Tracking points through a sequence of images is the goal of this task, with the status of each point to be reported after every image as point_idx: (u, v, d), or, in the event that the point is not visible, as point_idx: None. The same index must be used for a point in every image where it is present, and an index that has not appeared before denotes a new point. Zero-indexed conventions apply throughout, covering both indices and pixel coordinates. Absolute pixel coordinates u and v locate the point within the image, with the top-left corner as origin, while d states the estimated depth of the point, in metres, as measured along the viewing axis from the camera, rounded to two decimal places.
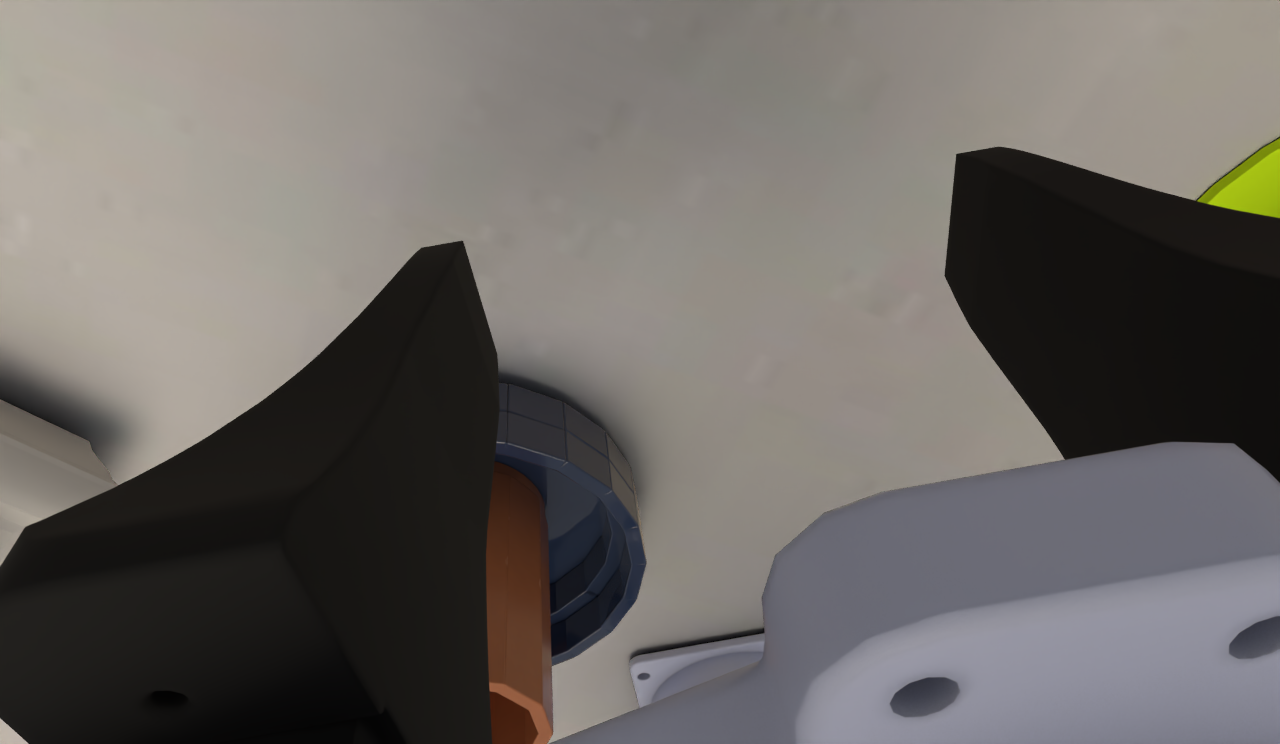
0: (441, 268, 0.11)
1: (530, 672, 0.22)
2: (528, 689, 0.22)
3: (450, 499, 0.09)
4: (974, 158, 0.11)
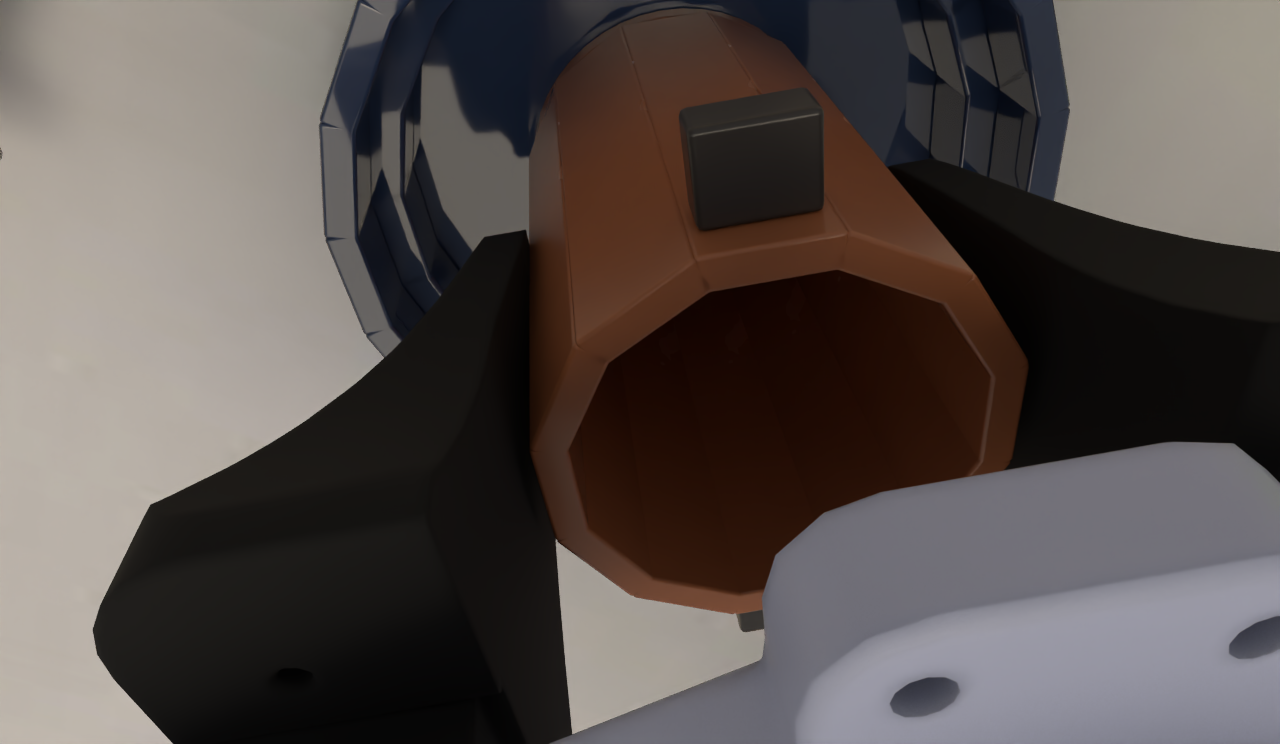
0: (511, 256, 0.11)
1: None
2: (999, 317, 0.08)
3: (529, 485, 0.09)
4: (902, 171, 0.11)
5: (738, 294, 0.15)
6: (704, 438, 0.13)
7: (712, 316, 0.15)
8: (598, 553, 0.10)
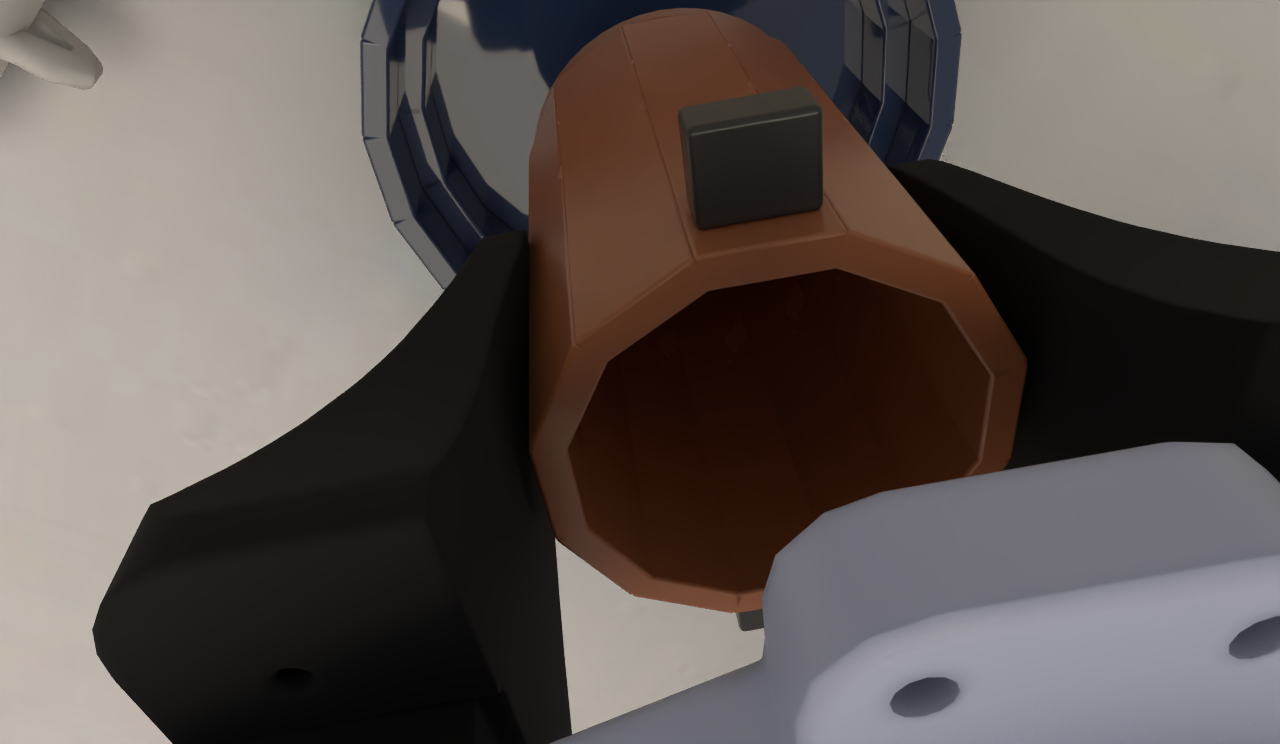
0: (511, 256, 0.11)
1: None
2: (999, 316, 0.08)
3: (529, 485, 0.09)
4: (902, 171, 0.11)
5: (738, 294, 0.15)
6: (704, 437, 0.13)
7: (712, 316, 0.15)
8: (597, 552, 0.10)
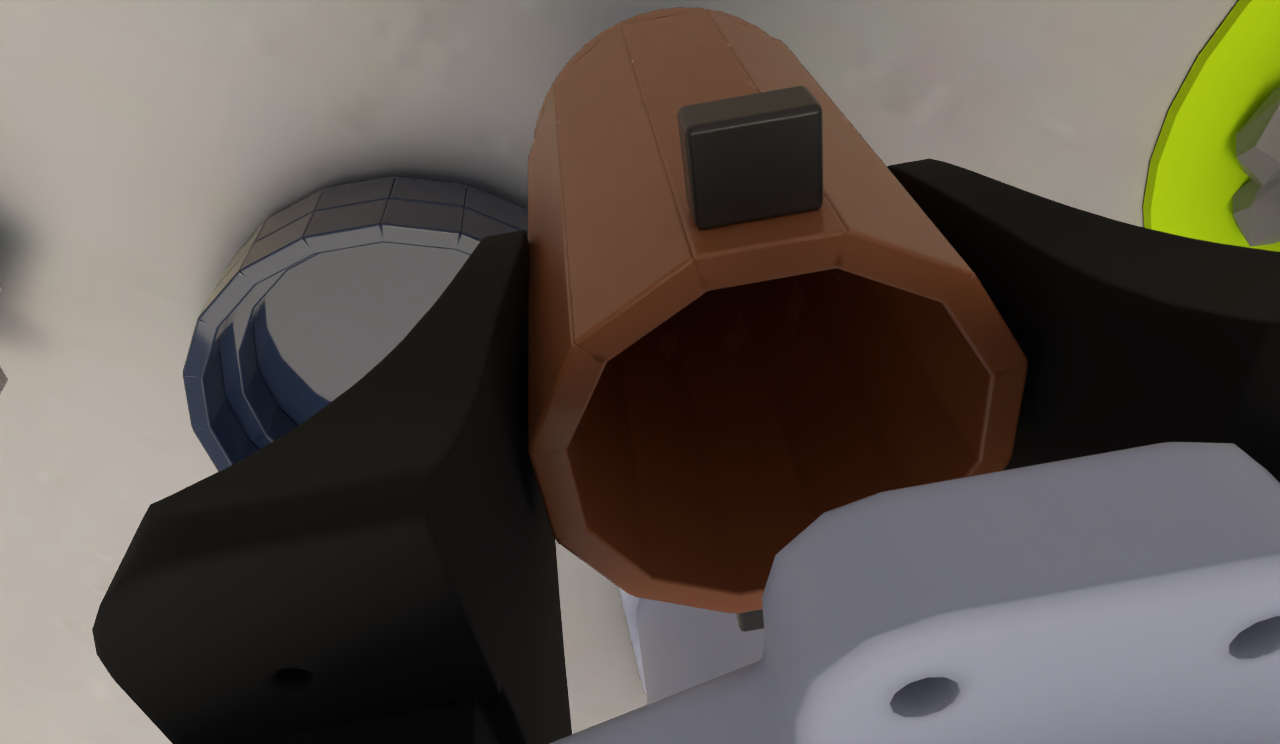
0: (511, 256, 0.11)
1: None
2: (999, 316, 0.08)
3: (529, 485, 0.09)
4: (902, 171, 0.11)
5: (737, 294, 0.15)
6: (703, 438, 0.13)
7: (711, 316, 0.15)
8: (597, 552, 0.10)
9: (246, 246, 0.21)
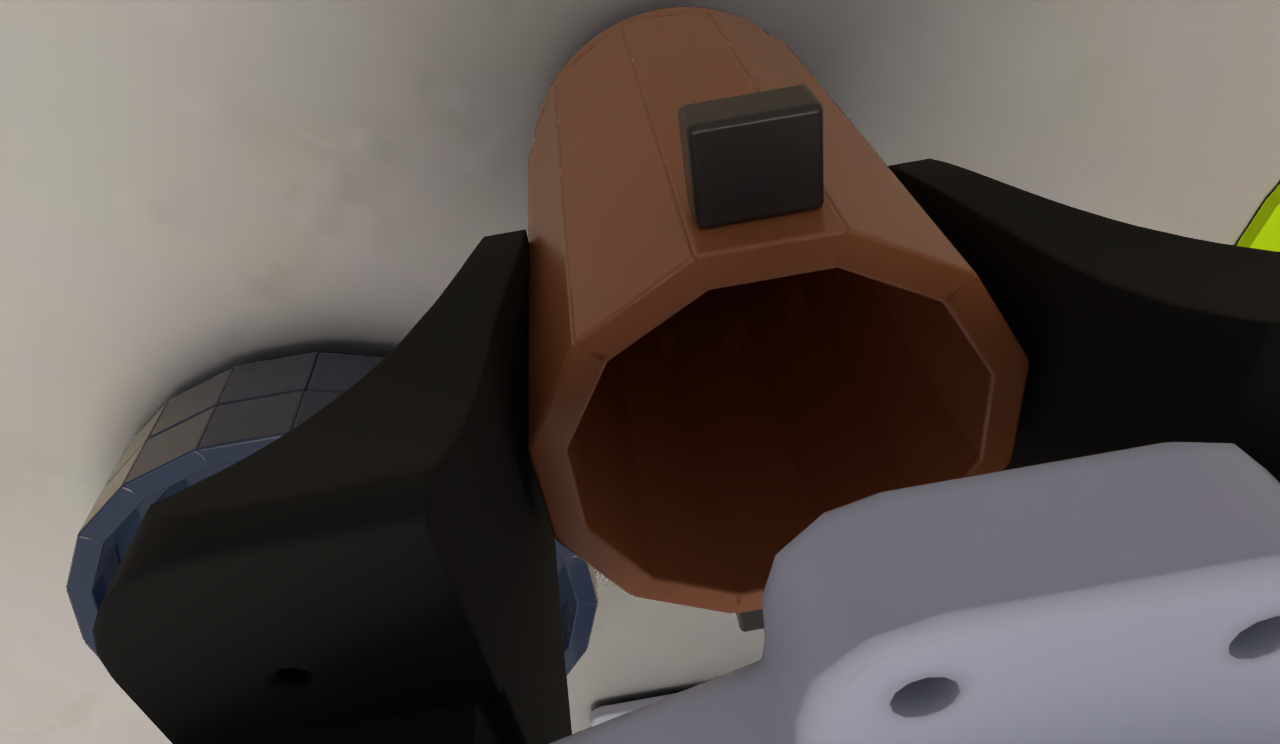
0: (511, 256, 0.11)
1: None
2: (1000, 316, 0.08)
3: (529, 485, 0.09)
4: (902, 171, 0.11)
5: (738, 293, 0.15)
6: (704, 437, 0.13)
7: (712, 316, 0.15)
8: (598, 552, 0.10)
9: (142, 435, 0.18)
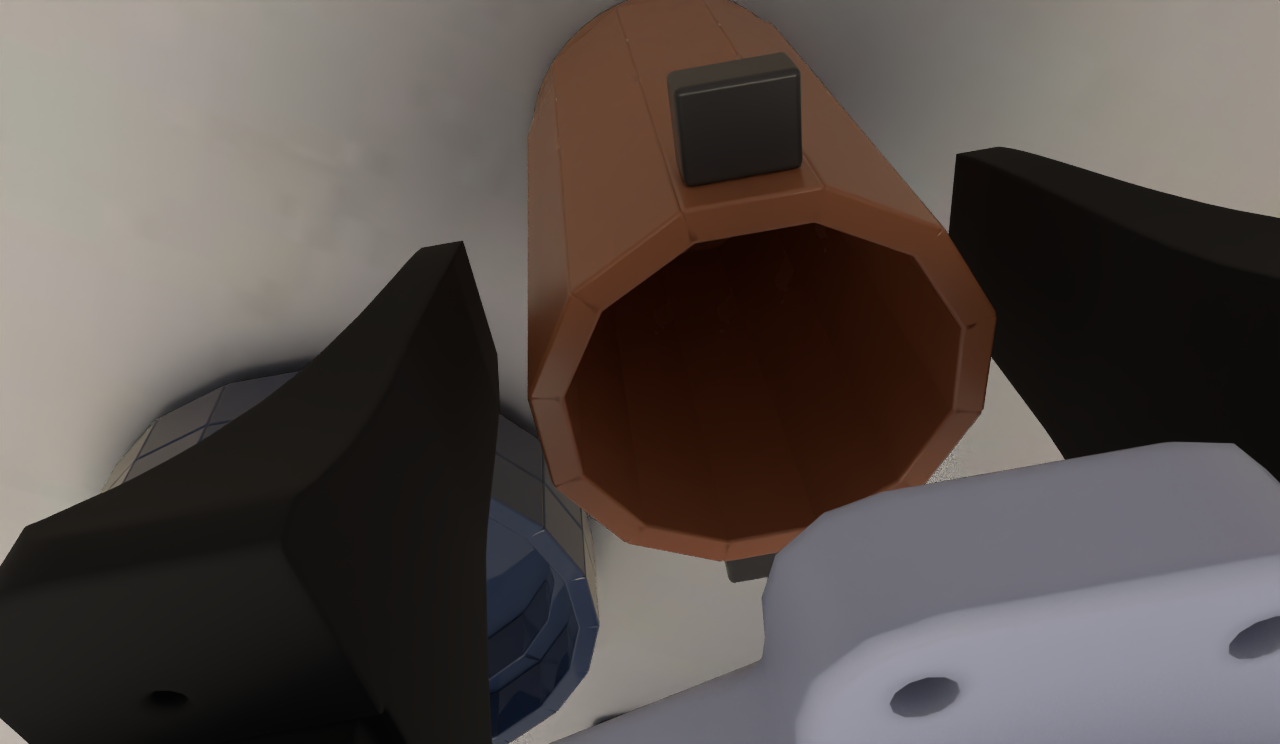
0: (441, 268, 0.11)
1: None
2: (968, 271, 0.09)
3: (450, 499, 0.09)
4: (974, 158, 0.11)
5: (730, 269, 0.16)
6: (695, 401, 0.13)
7: (704, 289, 0.16)
8: (593, 499, 0.10)
9: (130, 455, 0.18)
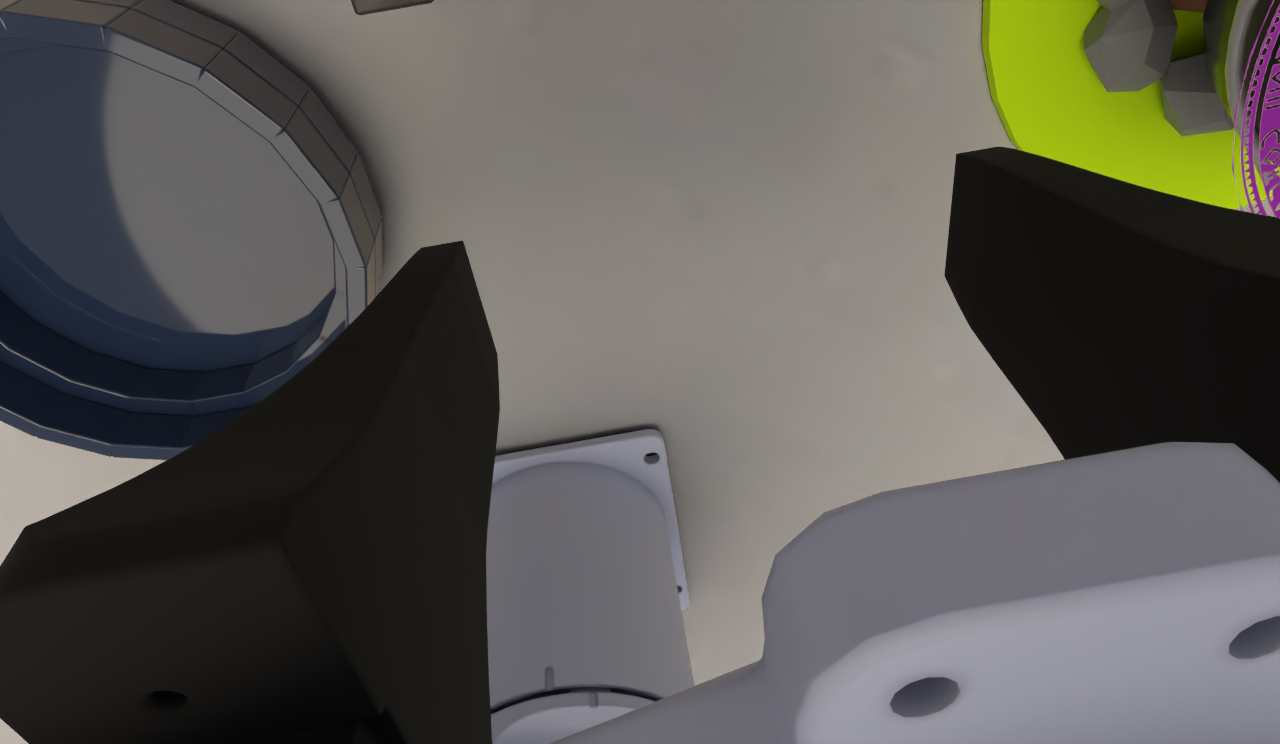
0: (441, 268, 0.11)
1: None
2: None
3: (450, 499, 0.09)
4: (974, 158, 0.11)
5: None
6: None
7: None
8: None
9: None
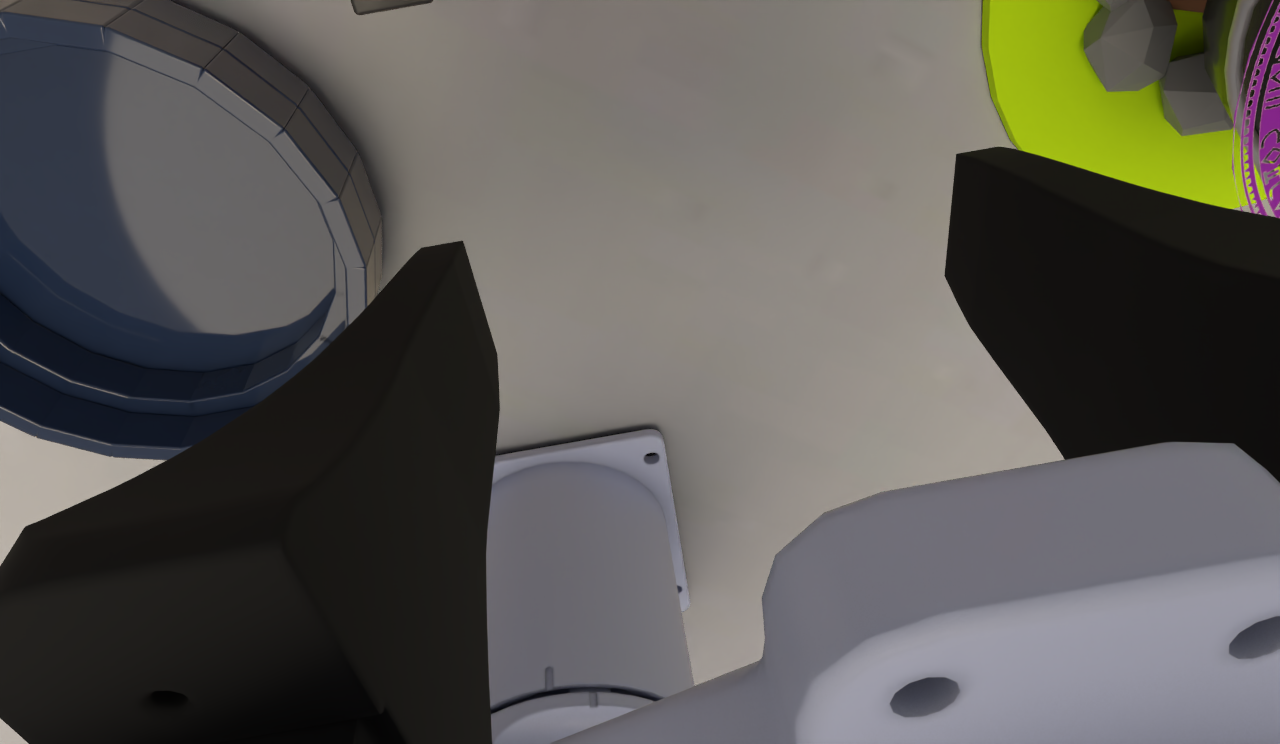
0: (441, 268, 0.11)
1: None
2: None
3: (450, 499, 0.09)
4: (974, 158, 0.11)
5: None
6: None
7: None
8: None
9: None
